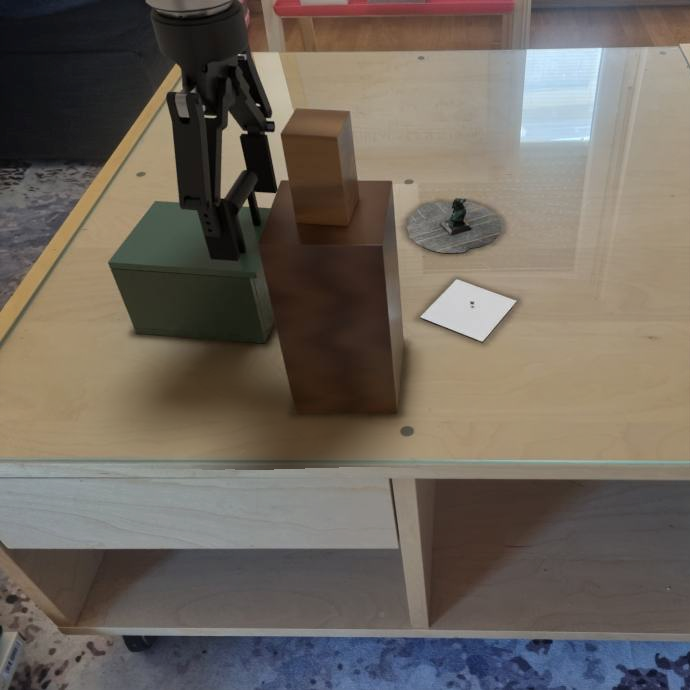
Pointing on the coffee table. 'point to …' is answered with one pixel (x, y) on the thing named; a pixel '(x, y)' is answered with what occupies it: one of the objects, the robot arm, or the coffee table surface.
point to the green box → (197, 305)
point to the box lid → (195, 237)
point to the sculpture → (453, 226)
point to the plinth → (337, 303)
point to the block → (321, 166)
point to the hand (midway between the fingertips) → (246, 222)
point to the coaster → (469, 310)
